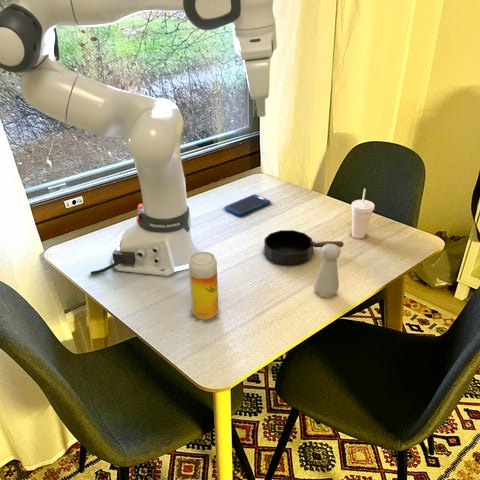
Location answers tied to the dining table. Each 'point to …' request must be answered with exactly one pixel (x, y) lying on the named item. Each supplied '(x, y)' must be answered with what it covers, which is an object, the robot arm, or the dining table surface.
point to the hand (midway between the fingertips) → (261, 109)
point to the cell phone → (247, 205)
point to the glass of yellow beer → (203, 285)
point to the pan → (291, 247)
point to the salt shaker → (328, 272)
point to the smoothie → (361, 216)
